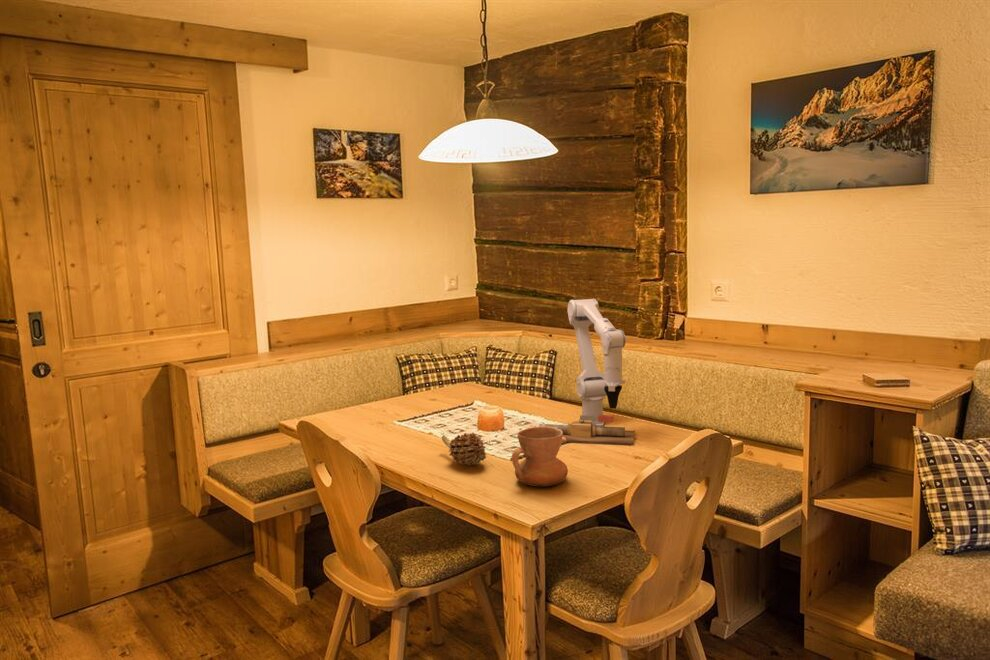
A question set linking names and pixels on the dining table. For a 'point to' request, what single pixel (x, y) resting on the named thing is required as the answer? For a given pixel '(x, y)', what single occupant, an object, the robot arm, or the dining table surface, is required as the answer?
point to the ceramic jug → (539, 457)
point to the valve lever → (597, 418)
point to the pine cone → (466, 449)
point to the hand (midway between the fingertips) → (613, 407)
